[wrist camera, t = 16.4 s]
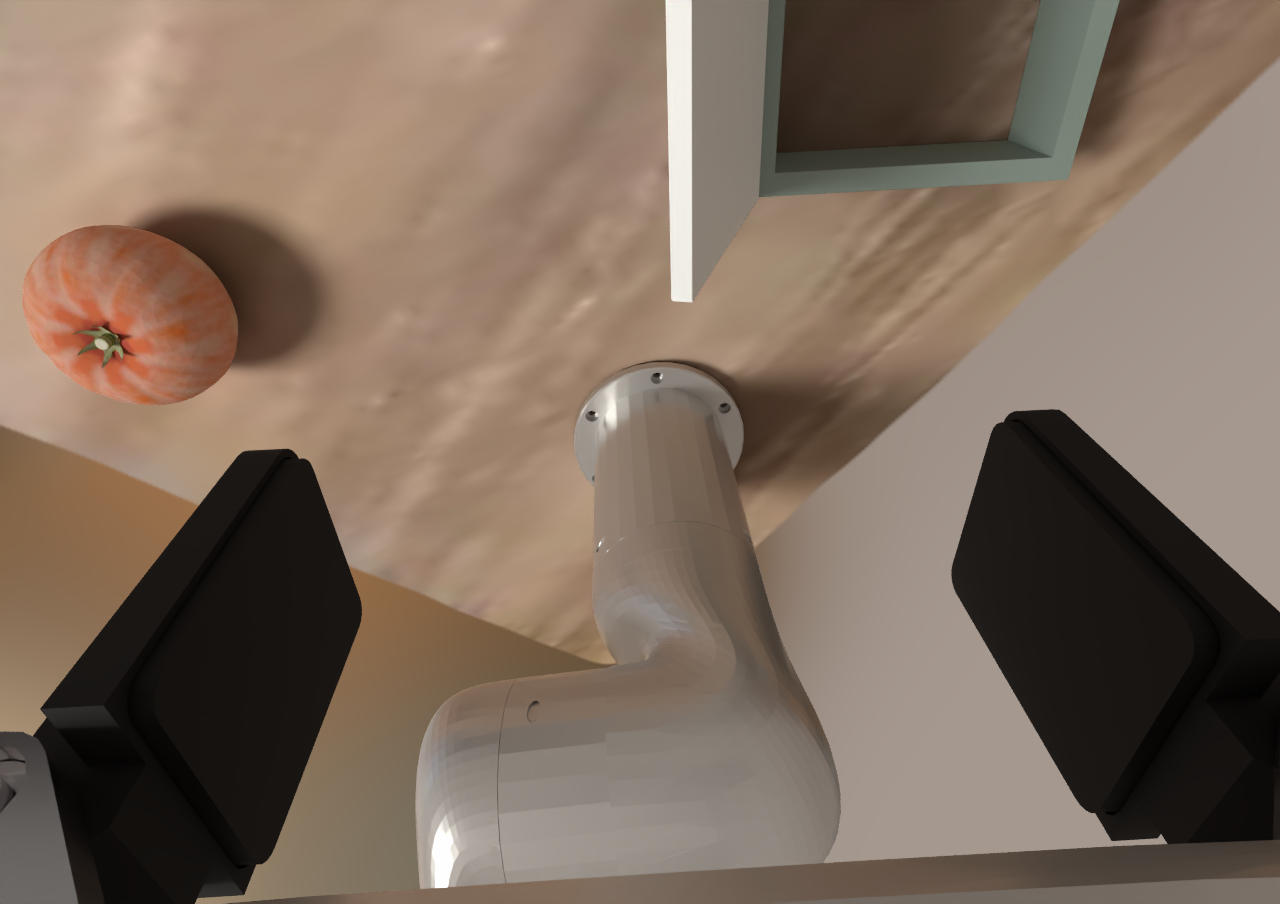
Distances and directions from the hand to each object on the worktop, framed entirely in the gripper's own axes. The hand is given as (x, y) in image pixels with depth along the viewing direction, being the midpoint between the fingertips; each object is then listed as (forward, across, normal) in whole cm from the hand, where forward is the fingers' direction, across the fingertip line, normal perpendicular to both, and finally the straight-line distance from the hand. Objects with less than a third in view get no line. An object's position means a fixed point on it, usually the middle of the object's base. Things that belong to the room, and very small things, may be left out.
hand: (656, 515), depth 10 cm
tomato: (+36, +29, +9) cm, 48 cm away
